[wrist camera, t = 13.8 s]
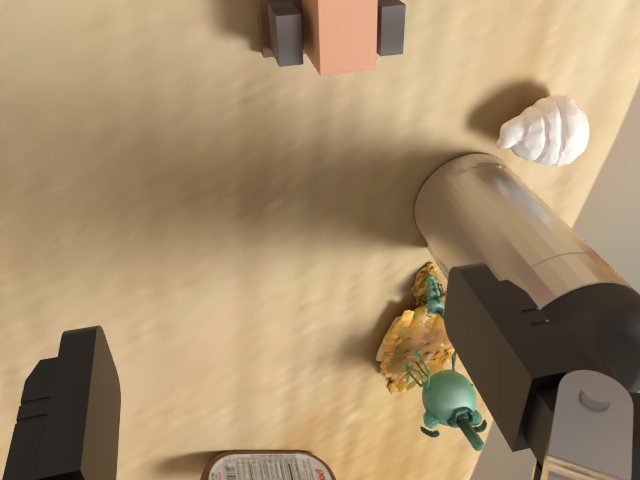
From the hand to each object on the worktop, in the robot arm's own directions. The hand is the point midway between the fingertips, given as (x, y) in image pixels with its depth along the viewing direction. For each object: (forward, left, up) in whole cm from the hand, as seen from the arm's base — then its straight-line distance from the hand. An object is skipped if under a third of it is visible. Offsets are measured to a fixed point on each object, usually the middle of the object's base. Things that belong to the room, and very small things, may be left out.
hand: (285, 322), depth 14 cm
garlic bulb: (-11, -24, -30) cm, 40 cm away
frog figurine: (-33, -18, -30) cm, 48 cm away
